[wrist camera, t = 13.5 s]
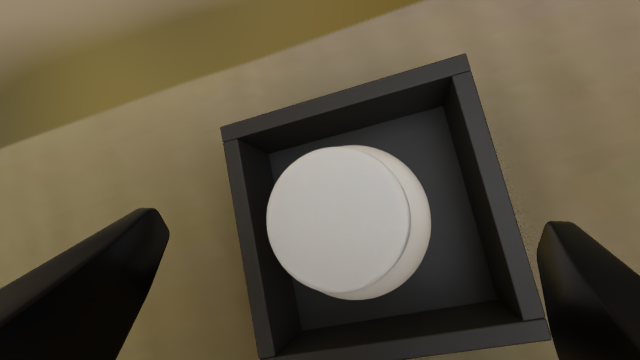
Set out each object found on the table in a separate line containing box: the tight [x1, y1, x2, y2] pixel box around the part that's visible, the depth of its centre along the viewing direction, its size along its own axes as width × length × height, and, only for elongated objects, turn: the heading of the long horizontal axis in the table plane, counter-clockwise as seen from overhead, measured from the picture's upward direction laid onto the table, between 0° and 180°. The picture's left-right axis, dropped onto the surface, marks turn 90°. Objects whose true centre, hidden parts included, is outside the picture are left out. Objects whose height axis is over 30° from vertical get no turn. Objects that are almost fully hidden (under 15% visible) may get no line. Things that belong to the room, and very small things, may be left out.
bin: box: [220, 54, 551, 360], centre depth 17 cm, size 12×12×4 cm
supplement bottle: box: [266, 145, 431, 300], centre depth 14 cm, size 5×5×10 cm
